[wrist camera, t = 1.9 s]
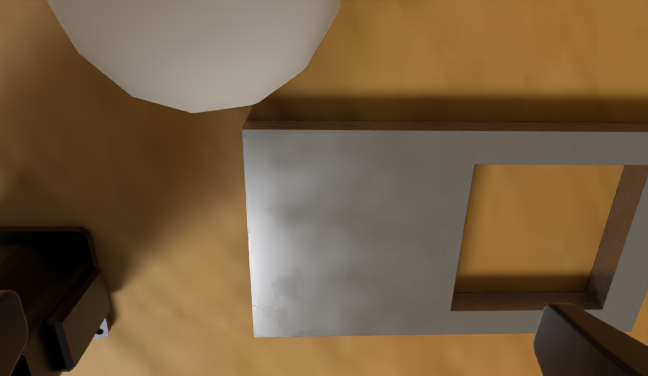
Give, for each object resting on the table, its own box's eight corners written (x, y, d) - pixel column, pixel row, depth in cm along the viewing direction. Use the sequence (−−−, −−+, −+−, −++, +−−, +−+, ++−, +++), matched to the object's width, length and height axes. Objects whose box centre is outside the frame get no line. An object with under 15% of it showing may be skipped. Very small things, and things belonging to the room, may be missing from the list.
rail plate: (257, 317, 24) (254, 337, 23) (246, 120, 19) (242, 129, 18) (613, 313, 25) (631, 331, 23) (679, 123, 20) (707, 132, 19)
